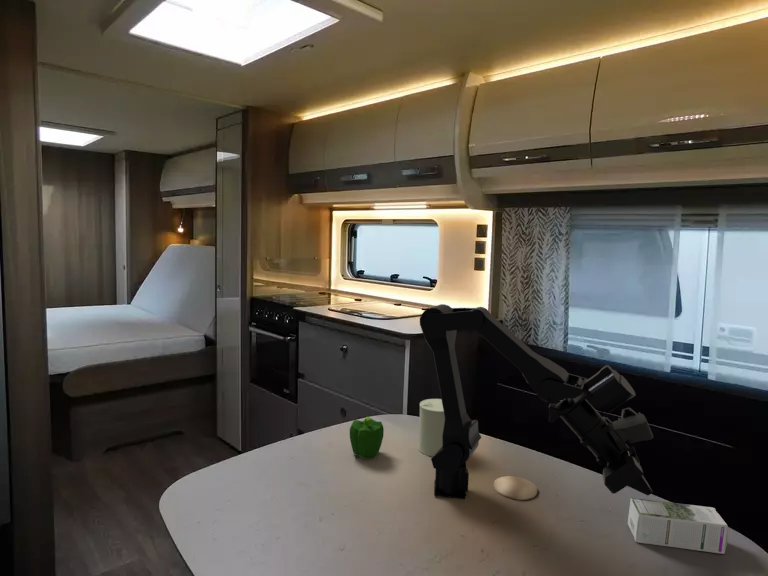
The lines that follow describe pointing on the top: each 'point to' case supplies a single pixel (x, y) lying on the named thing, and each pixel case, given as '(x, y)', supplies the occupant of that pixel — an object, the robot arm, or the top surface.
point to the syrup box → (677, 525)
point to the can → (431, 426)
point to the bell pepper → (366, 437)
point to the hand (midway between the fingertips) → (649, 493)
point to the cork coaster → (515, 488)
